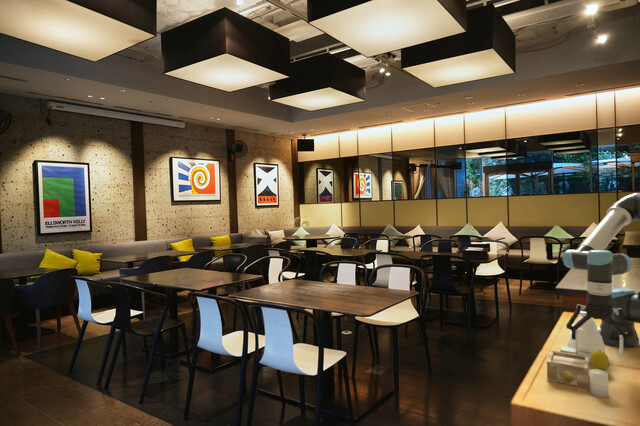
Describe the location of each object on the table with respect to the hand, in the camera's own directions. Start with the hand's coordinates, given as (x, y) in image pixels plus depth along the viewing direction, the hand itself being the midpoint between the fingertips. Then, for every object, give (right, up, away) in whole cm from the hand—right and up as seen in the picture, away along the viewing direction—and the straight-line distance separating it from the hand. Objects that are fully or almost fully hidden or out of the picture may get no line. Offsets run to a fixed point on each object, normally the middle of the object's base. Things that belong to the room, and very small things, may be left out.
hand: (598, 351), depth 154 cm
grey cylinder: (-10, -9, -16) cm, 21 cm away
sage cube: (-5, -7, +10) cm, 14 cm away
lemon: (+1, -8, +1) cm, 8 cm away
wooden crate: (-13, -8, -4) cm, 16 cm away
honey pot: (+5, -7, +16) cm, 18 cm away
